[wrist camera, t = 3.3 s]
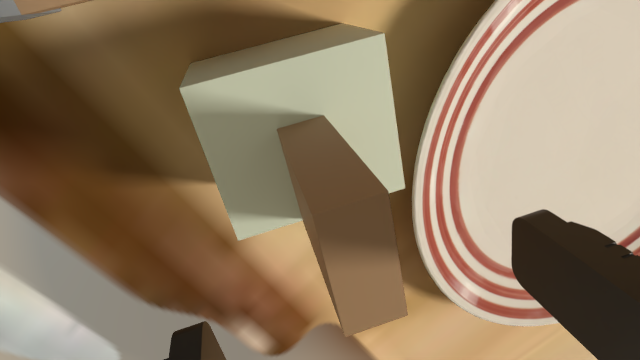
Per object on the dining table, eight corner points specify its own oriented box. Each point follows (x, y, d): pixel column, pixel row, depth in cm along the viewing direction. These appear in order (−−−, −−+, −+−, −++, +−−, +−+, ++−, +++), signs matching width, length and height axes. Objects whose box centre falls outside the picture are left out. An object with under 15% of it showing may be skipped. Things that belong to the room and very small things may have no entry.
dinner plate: (760, -203, 21) (850, -236, 18) (745, 185, 33) (795, 203, 31) (313, 74, 21) (328, 87, 19) (465, 349, 34) (488, 383, 31)
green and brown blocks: (190, 63, 20) (147, 159, 8) (342, 23, 20) (496, 60, 9) (234, 183, 23) (247, 373, 11) (364, 144, 24) (498, 286, 12)
